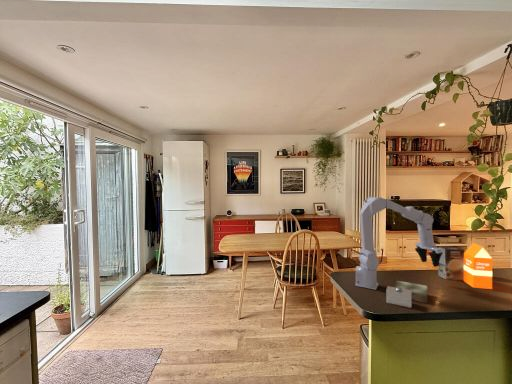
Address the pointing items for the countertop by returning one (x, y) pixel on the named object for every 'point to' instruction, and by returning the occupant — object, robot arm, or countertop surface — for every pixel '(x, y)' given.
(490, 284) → the orange juice
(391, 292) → the housing
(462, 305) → the countertop surface
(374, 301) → the countertop surface
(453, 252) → the coffee box
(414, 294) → the stand
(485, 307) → the countertop surface
